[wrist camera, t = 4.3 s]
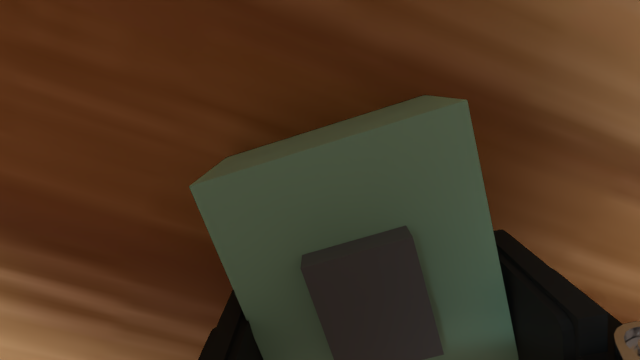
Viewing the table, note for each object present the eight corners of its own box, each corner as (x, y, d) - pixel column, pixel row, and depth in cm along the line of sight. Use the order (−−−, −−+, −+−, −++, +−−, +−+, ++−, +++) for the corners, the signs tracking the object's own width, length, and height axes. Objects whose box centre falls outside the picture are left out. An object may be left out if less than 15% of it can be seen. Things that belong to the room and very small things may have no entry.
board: (226, 157, 10) (177, 195, 7) (424, 95, 10) (480, 100, 6) (330, 422, 13) (332, 545, 10) (490, 383, 12) (555, 499, 9)
